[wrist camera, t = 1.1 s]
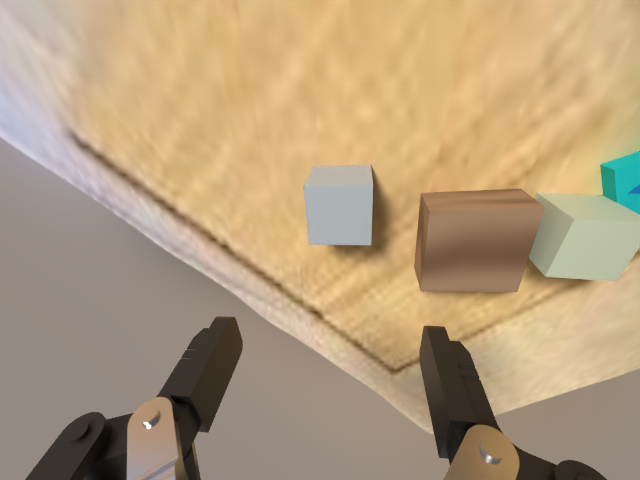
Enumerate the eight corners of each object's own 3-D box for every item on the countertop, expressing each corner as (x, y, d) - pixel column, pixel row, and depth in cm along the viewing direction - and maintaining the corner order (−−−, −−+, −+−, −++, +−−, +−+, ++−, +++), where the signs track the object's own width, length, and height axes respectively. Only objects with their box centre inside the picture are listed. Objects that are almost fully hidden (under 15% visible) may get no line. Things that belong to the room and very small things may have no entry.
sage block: (602, 194, 23) (536, 192, 24) (655, 223, 19) (574, 219, 20) (574, 246, 26) (515, 243, 26) (615, 281, 22) (545, 276, 22)
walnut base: (420, 191, 25) (429, 211, 22) (519, 187, 24) (545, 207, 21) (413, 265, 29) (420, 291, 26) (498, 264, 28) (517, 292, 25)
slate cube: (313, 166, 25) (303, 186, 21) (370, 164, 24) (373, 184, 20) (317, 217, 28) (309, 244, 23) (369, 217, 27) (371, 245, 23)
